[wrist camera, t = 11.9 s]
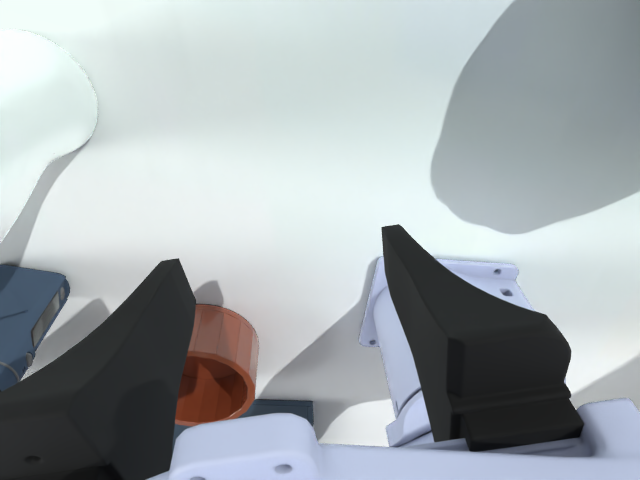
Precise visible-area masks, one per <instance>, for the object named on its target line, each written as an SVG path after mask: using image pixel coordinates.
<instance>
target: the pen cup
mask: <svg viewBox="0 0 640 480" xmlns="http://www.w3.org/2000/svg"><path fill="white" fill-rule="evenodd" d="M258 349H259V341H258V337H257V334H256V332H255V330H254V328H253V327H252V326H251V324H250V323H249V322H248V321H247V320H246V319H244V318H243V317H242V316H240V315H239V314H237V313H235V312H233V311H231V310H229V309H226V308H223V307H219V306H214V305H206V304H196V308H195V320H194V327H193V332H192V336H191V341H190V345H189V349H188V353H187V357H186V361H185V365H184V369H183V373H182V378H181V382H180V387H179V393H178V401H177V409H176V417H175V424H178V425H184V426H192V427H193V426H196V425H199V424H204V423H211V422H217V421H224V420H231V419H236V418H238V417H239V416H241V415H242V414H244V413H245V412H246V411H247V410H248V409H249V407H250V406H251V404H252V403H253V401H254V399H255V388H256V376H257V363H258Z"/></svg>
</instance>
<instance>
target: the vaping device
mask: <svg viewBox="0 0 640 480" xmlns="http://www.w3.org/2000/svg"><path fill="white" fill-rule="evenodd" d="M65 278H66V277H65V276H64V275H62V274H59V273H54V272H48V271H41V270H35V269H28V268H22V267H15V266H9V265H0V392H2V391H4V390H5V389H7V388H9V387H11V386H13V385H15V384H16V383H18V382H20V380H21V378H22V377H23V375H24V374H25V372H26V370H27V369H28V367H30V366H31V365H32V361H33V359H34V357H35V351H36V349H37V348H38V346H39V345H40V343H41V341H42V340H43V338H44V337H45V335H46V333H47V332H48V330H49V329H50V327H51V325H52V324H53V322H54V320H55V319H56V317H57V316H58V314H59V312H60V311H61V309H62V308H63V306H64V304H65V303H66V301H67V300H68V299H66V298H67V297H68V295H69V293H70V287H69V283H68V281H67V280H66V279H65Z"/></svg>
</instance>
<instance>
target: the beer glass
mask: <svg viewBox="0 0 640 480" xmlns="http://www.w3.org/2000/svg"><path fill="white" fill-rule="evenodd" d="M97 120H98V102H97V97H96V93H95V90H94V87H93V85H92V83H91V81H90V79H89V77H88V76H87V74H86V72H85V71H84V69H83V68H82V67H81V66H80V64H79V63H78V62H77V61H76V60H75V59H74V58H73V57H72V56H71V55H70V54H69V53H68V52H67V51H65V50H64V49H63V48H62V47H60V46H59V45H57V44H56V43H54V42H53V41H51V40H49V39H47V38H45V37H43V36H40V35H38V34H35V33H32V32H28V31H24V30H17V29H1V30H0V244H1V242H2V241H3V239H4V238H5V236H6V235H7V233H8V232H9V230H10V229H11V227H12V226H13V224H14V223H15V221H16V220H17V218H18V217H19V215H20V213H21V211H22V209H23V208H24V206H25V204H26V202H27V201H28V199H29V197H30V195H31V193H32V192H33V190H34V188H35V186H36V184H37V182H38V180H39V178H40V177H41V175H42V173H43V172H44V170H45V168H46V167H47V166H48V165H49V164H50V163H51V162H52V161H54V160H56V159H58V158H60V157H63V156H65V155H67V154H69V153H71V152H73V151H75V150H77V149H78V148H79V147H81V146H82V145H83V144H85V143H86V142H87V141H88V139H89V138H90V137H91V135H92V134H93V132H94V130H95V127H96V124H97Z"/></svg>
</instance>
